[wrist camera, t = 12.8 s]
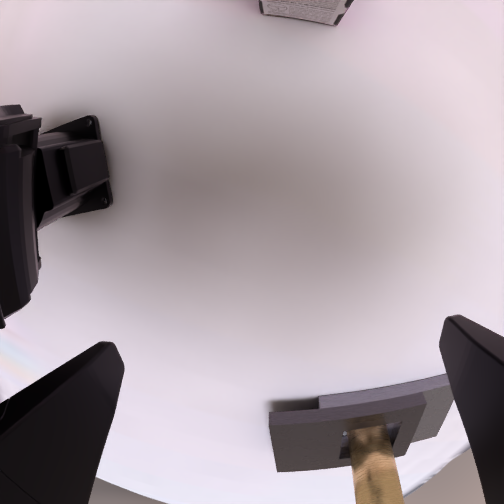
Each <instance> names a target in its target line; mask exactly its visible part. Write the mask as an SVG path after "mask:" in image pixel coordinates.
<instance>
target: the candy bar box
mask: <svg viewBox="0 0 504 504" xmlns="http://www.w3.org/2000/svg"><path fill="white" fill-rule="evenodd" d="M353 1H354V0H259V6H260V11H261V14H263V15H271V16H277V17H291V18H299V19H304V20H309V21H314V22H319V23H325V24H330V25H334V26H337V25H338V23H339V22H340V20H341V18H342V17H343V16H344V14H345V13H346V11H347V10H348V8H349V7H350V5H351V3H352V2H353Z"/></svg>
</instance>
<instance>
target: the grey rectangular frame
mask: <svg viewBox="0 0 504 504" xmlns="http://www.w3.org/2000/svg"><path fill="white" fill-rule="evenodd" d="M453 400H454V397H453V394H452V391H451V387H450V383H449V380H448V376H447V374H444V375H440V376H436V377H431V378H427V379H423V380H418V381H413V382H409V383H404V384H398V385H393V386H388V387H382V388H376V389H370V390H364V391H357V392H350V393H342V394H334V395H325V396H319V405H318V409H310V410H298V411H283V412H269V429H270V435H271V441H272V446H273V452H274V457H275V463H276V468H277V472H293V471H307V470H319V469H328V468H337V467H344V466H351V459H350V452H349V445H348V438H347V436H343V431H349V430H356V429H363V428H369V427H374V426H380V425H385V424H387V430H388V434H389V438H390V442H391V446H392V450H393V454H394V458H395V457H399V456H404V455H405V454H406V452H407V449H408V447H409V445H410V443H412V442H416V441H420V440H424V439H428V438H431V437H435V436H437V434H438V432H439V430H440V428H441V426H442V424H443V422H444V420H445V418H446V415H447V413H448V411H449V409H450V407H451V405H452V403H453Z"/></svg>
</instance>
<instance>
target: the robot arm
mask: <svg viewBox="0 0 504 504" xmlns="http://www.w3.org/2000/svg"><path fill="white" fill-rule="evenodd" d="M41 120H42V118H37V117H32V114H25V113H24V112H23V110H22V108H21V106H20V105H5V106H0V329H3V328H5V326H6V324H5V321H4V319H6V318H7V317H9V316H11V315H12V314H14V313H16V312H17V311H19V310H21V309H22V308H23V307H24V306H25V305H26V304H28V303H29V302H30V300H31V296H30V294H31V293H32V291H33V289H34V288H35V286H36V284H37V283H38V275H39V270H40V268H41V258H40V257H39V251H38V239H37V231H38V230H40V229H42V228H43V227H45V226H47V225H48V224H50V223H52V222H54V221H55V220H57V219H59V218H61V217H66V216H70V215H75V214H80V213H85V212H90V211H95V210H100V209H105V208H107V207H109V206H111V204H112V202H113V199H112V194H111V190H110V185H109V181H108V178H109V174H108V169H107V164H106V158H105V153H104V148H103V142H102V141H101V139H100V133H99V127H98V120H97V118H96V117H95V116H93V115H89V116H85V117H82V118H80V119H77V120H74V121H72V122H69V123H67V124H64V125H62V126H59V127H57V128H54V129H52V130H49V131H47V132H45V133H42V134H40V135H38V132H39V128H41ZM89 120H91V121H92V123H91V125H89ZM104 198H105V199H106V200H107V203H105V202H104ZM439 348H440V352H441V355H442V359H443V362H444V365H445V369H446V372H447V376H448V380H449V383H450V387H451V391H452V394H453V397H454V400H455V403H456V405H457V408H458V411H459V414H460V416H461V419H462V422H463V425H464V428H465V431H466V434H467V437H468V440H469V443H470V446H471V449H472V453H473V456H474V459H475V463H476V466H477V470H478V473H479V477H480V481H481V485H482V489H483V493H484V497H485V502H486V504H504V337H502V336H501V335H499V334H497V333H495V332H493V331H491V330H489V329H487V328H485V327H483V326H481V325H479V324H477V323H475V322H473V321H472V320H470V319H468V318H466V317H464V316H462V315H453V316H448V317H447V318H446V319H445V321H444V325H443V329H442V333H441V337H440V341H439ZM124 369H125V368H124V363H123V361H122V359H121V356H120V354H119V352H118V350H117V348H116V346H115V344H114V343H113V342H105V341H101V342H98V343H97V344H95V345H94V346H92V347H90V348H89V349H87V350H85V351H84V352H82V353H81V354H79V355H77V356H76V357H74V358H73V359H71V360H69V361H68V362H66V363H65V364H63V365H61V366H60V367H58V368H56V369H55V370H53V371H52V372H50V373H48V374H47V375H45V376H44V377H42V378H40V379H39V380H37V381H36V382H34V383H32V384H31V385H29V386H28V387H26V388H24V389H23V390H21V391H20V392H18V393H16V394H15V395H13V396H12V397H10V399H7V400H5V401H3V402H2V403H0V504H88V502H89V498H90V495H91V491H92V487H93V484H94V480H95V476H96V473H97V469H98V466H99V463H100V459H101V456H102V452H103V449H104V446H105V443H106V440H107V436H108V433H109V430H110V427H111V424H112V421H113V417H114V414H115V410H116V406H117V401H118V397H119V392H120V388H121V383H122V379H123V375H124Z"/></svg>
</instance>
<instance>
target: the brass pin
mask: <svg viewBox="0 0 504 504" xmlns="http://www.w3.org/2000/svg"><path fill="white" fill-rule="evenodd" d="M346 432H347V438H348V445H349V452H350V459H351V466H352V474H353V482H354V490H355V499H356V504H404V500H403V495H402V490H401V485H400V480H399V476H398V471H397V467H396V462H395V458H394V454H393V450H392V446H391V442H390V438H389V434H388V430H387V426H386V424H385V425H380V426H374V427H369V428H363V429H356V430H349V431H346Z"/></svg>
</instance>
